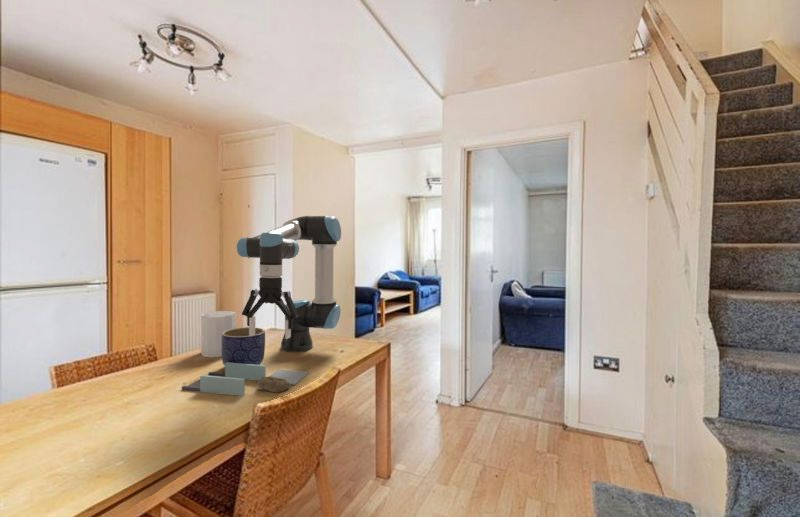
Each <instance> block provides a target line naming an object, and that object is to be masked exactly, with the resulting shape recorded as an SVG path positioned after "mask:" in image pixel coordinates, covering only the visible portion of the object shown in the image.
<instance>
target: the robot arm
mask: <svg viewBox="0 0 800 517" xmlns="http://www.w3.org/2000/svg"><path fill="white" fill-rule="evenodd" d="M341 238H342V226H341V224H340V221H339V219H338V218H337V217H335V216H329V215H303V216H299V217H296V218H293V219H292V218H291V219H290V220H287V221H285V222H283V224H282V225H281V226H279V227H276V228H273V229H271V230H269V231H268V230H267V232H262V233H261V234H259V235H256V236H253V237H242V238H240V239H238V241H237V243H236V251H237V254H238V256H240V257H241V258H248V259H249V258H253V259H257V258H258V259H259V276H260V277H259V282H258V283H259V284H258V285H259V286H258V287H259V289H257V288H254V289H251V290H250V296H249V298H248V300H247V302H246V303H245V306H244V308H243V310H242V311H241V315H242V316H245V317H246V318H247V320H246V321H247V322H246V325H247V327H249V336H253V335H255V328H256V316H255V314H256V313H257V312H258V310H259V309H260V308H261V307H262V305H264V304H272V305H273V304H275V305H277V307H278V308H279V310H280V311H281V312H282V313H283V315H284V333H283V337H282V340H281V342H280V349H281V351H285V352H290V353H292V352H293V353H294V352H295V353H297V352H305V351H308V350H311V349H312V348H313V347H314V344H313V338H312V336H311V333H310V329H311V328H313V329H324V330H328V329H330V330H332V329H334V328H336V327H337V325H338V323H339V320H340V317H341V306H340V305H339V304H337V299H336V298H335V297H334V248H335V247H336V246H337V245H338V242H340V240H341ZM297 240H298V241H299V240H300V241H301V240H302V241H311V245H312V246H313V247H314V250H315V251H314V255H315V256H314V267H315V268H314V277H315V278H314V298H313V299H312V300H311V301H310V299H297V300H293V299H292V294H291V293H292V292H291V291H290V290H287V291H283V290H282V289H283V288H282V287H283V278H282V276H283V260H286V259H287V260H290V259H293V258H296V257H297V255H298V254H299V252H300V246H299V243H297ZM258 296H259V299H258V300H257V302H256V299H257V297H258ZM282 298H284V300H283V299H282ZM284 301H285V302H284ZM255 302H256V303H255Z"/></svg>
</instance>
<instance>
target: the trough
mask: <svg viewBox="0 0 800 517" xmlns="http://www.w3.org/2000/svg"><path fill="white" fill-rule="evenodd" d="M266 373H267V365H264V364H260V365H254V364H242V363H230V362H226V363H225V366H224V372H218V371H209V372H208V374H207V375H206V374H201V375H200V376H199V379H198V380H196V381H194V382H192V383H190V384H188V385H182V386H181V391H187V392H189V391H190V392H197V393H198V392H200V393H209V394H220V395H232V396H240V397H241V396H242V397H244V396H245V395H246V393H245V392H246V380H252V381H259V380H260V379H261V378H262V377H267V376H266V375H267V374H266Z"/></svg>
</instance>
